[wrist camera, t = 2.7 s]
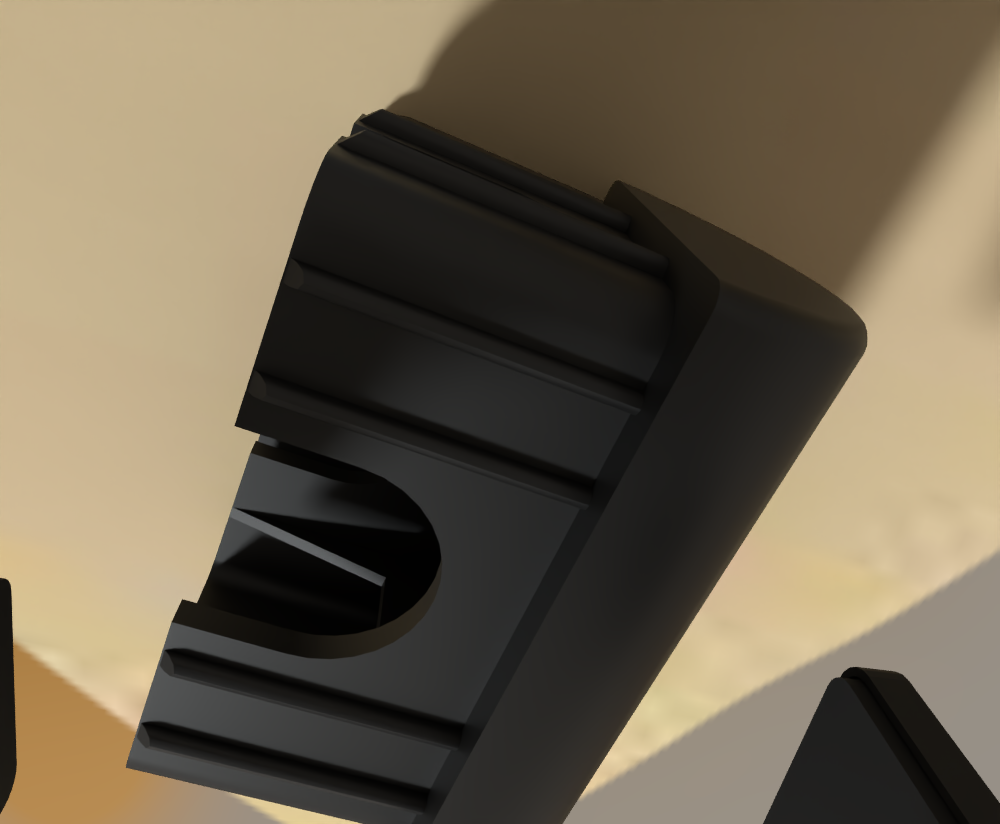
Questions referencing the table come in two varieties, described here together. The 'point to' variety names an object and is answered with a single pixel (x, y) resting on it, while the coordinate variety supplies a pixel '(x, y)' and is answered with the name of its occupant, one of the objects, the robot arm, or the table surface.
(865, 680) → the robot arm
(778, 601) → the table surface
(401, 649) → the end cap
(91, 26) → the table surface
